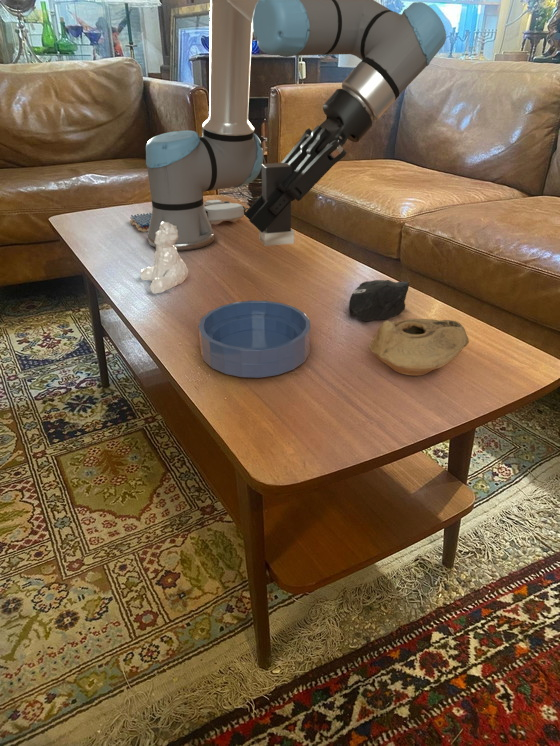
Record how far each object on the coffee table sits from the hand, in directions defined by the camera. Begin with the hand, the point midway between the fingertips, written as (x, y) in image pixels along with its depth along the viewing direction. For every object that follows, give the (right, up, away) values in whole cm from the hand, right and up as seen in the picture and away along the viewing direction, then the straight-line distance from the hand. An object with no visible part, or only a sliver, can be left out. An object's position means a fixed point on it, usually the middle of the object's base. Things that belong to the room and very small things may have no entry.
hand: (253, 223), depth 87 cm
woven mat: (-28, +14, +53) cm, 62 cm away
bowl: (+1, -21, -4) cm, 21 cm away
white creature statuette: (-18, -6, +20) cm, 28 cm away
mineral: (+21, -13, +9) cm, 26 cm away
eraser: (+4, -2, +3) cm, 5 cm away
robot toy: (-12, +16, +57) cm, 61 cm away
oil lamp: (+25, -23, -7) cm, 34 cm away
